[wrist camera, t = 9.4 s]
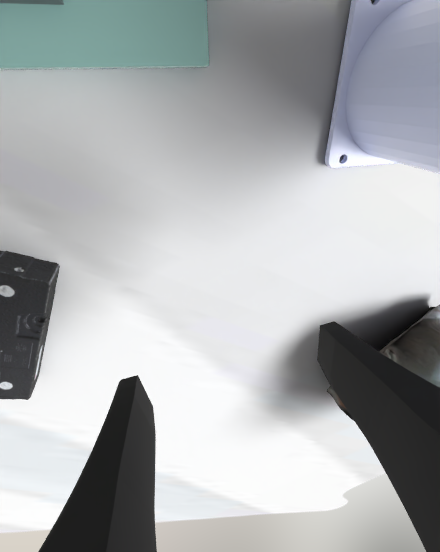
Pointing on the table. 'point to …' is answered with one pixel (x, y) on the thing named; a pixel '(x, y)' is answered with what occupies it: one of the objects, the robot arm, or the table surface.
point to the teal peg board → (103, 34)
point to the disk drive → (23, 320)
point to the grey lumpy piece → (414, 351)
